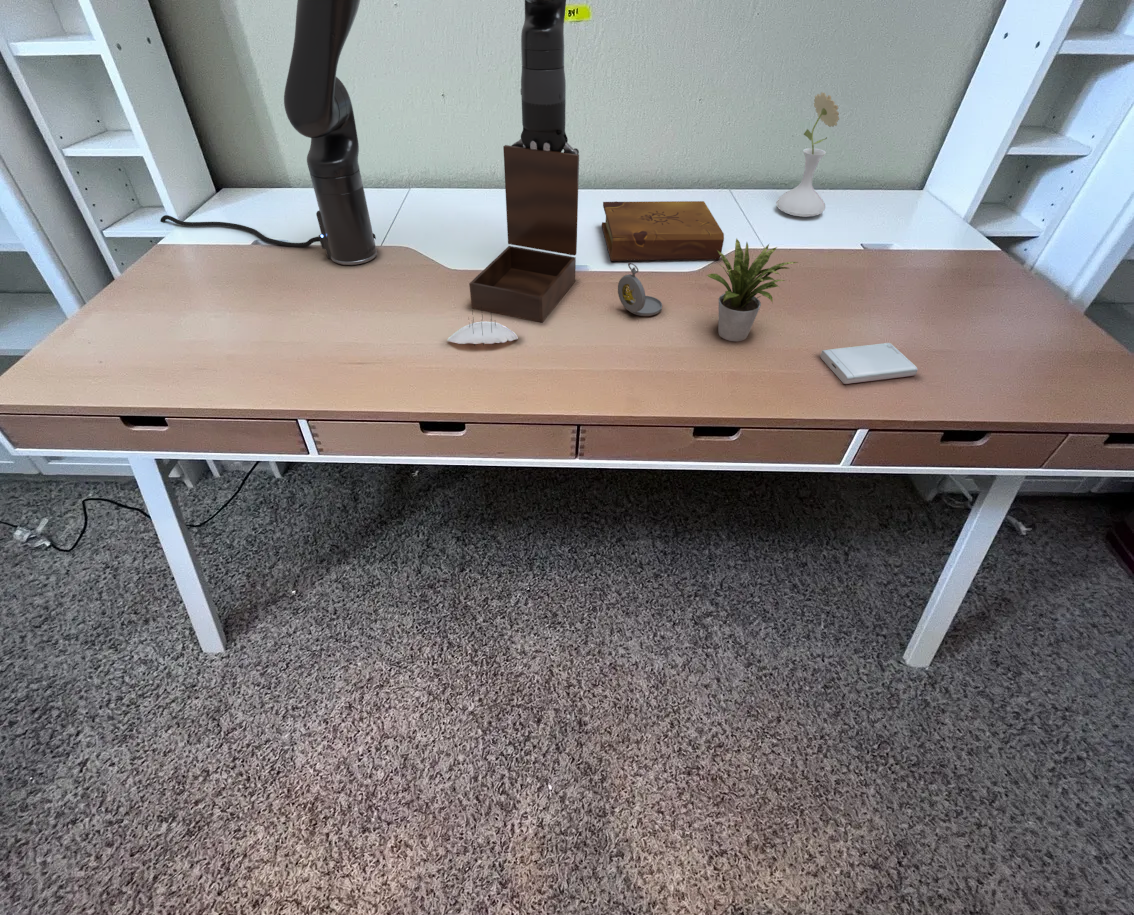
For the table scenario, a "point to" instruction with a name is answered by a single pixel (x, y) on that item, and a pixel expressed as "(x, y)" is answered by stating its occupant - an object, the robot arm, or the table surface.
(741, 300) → the house plant
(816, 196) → the flower in vase
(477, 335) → the pincushion
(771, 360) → the table surface
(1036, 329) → the table surface
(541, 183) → the lid
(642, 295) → the pocket watch
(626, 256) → the diary
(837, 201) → the table surface
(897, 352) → the hard drive
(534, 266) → the box
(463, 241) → the table surface
